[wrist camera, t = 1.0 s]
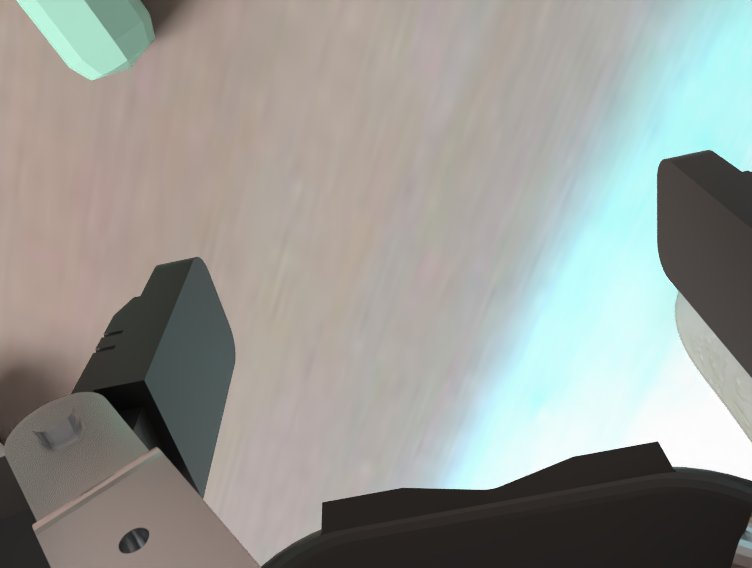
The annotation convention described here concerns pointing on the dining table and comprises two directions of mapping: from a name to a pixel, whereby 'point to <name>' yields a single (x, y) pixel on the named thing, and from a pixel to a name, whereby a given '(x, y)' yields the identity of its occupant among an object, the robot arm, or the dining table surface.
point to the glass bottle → (715, 364)
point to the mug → (1, 450)
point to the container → (94, 32)
